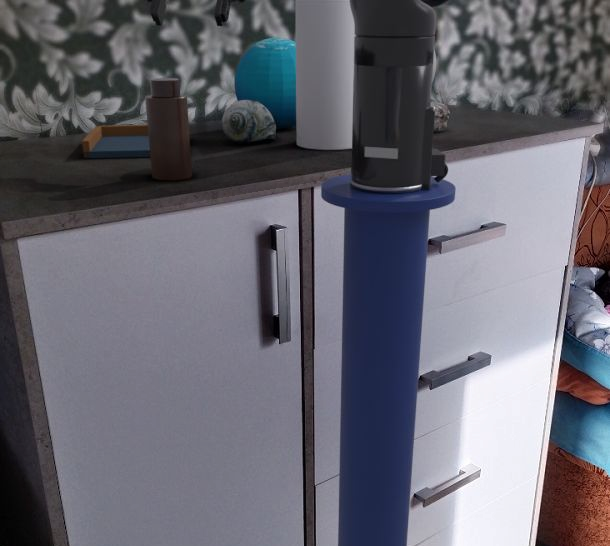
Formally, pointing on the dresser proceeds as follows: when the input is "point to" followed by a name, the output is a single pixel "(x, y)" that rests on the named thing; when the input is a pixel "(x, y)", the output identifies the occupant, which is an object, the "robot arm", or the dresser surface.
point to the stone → (440, 116)
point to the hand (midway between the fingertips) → (187, 21)
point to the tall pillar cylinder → (324, 74)
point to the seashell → (248, 122)
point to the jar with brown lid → (168, 130)
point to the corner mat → (117, 142)
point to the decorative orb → (270, 79)
